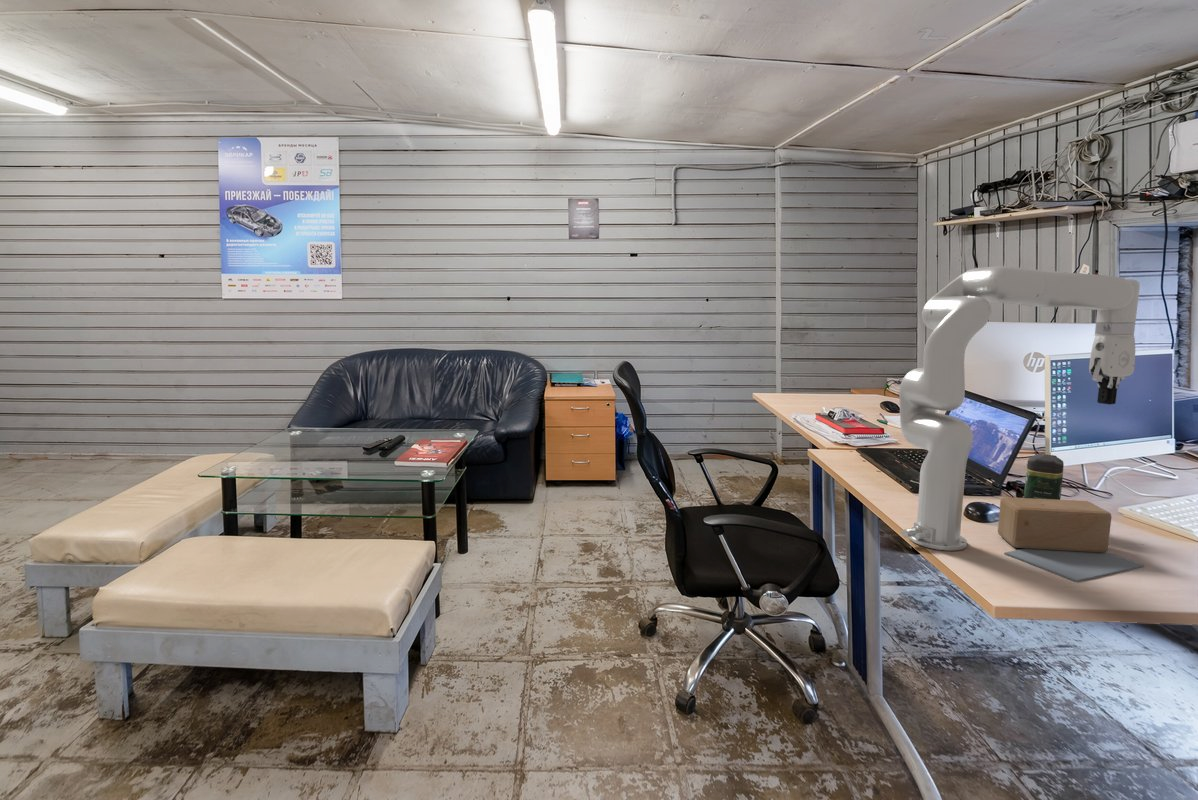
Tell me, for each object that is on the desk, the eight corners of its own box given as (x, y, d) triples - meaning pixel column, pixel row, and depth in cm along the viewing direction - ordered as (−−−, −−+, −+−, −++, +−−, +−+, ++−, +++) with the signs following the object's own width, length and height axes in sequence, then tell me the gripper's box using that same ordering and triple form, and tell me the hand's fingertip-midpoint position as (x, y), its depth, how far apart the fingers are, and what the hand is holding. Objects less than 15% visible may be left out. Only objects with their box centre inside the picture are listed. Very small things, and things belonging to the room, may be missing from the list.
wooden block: (1114, 513, 142) (1017, 508, 146) (1109, 554, 144) (1013, 548, 148) (1089, 499, 152) (999, 495, 156) (1084, 538, 153) (995, 533, 157)
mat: (1076, 582, 131) (1076, 580, 131) (1004, 554, 146) (1004, 552, 146) (1143, 566, 138) (1144, 564, 138) (1068, 541, 153) (1069, 539, 153)
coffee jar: (1056, 531, 159) (1064, 461, 157) (1019, 525, 164) (1026, 457, 162) (1058, 521, 167) (1065, 454, 164) (1023, 515, 172) (1029, 450, 169)
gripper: (1111, 331, 147) (1102, 407, 150) (1151, 330, 152) (1142, 403, 155) (1077, 330, 154) (1070, 403, 157) (1117, 329, 159) (1109, 399, 162)
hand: (1106, 403), depth 156 cm, fingers closed
